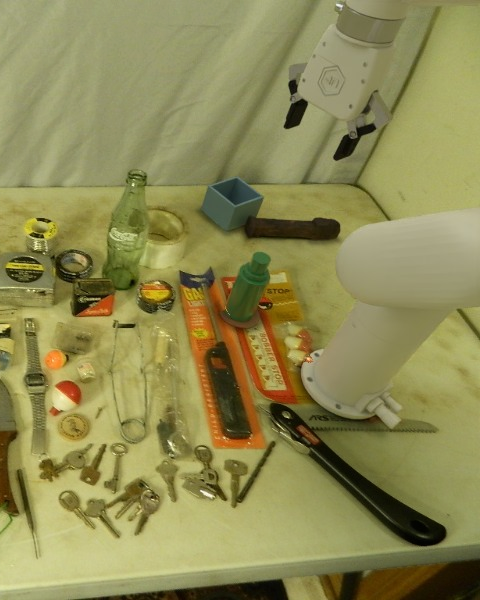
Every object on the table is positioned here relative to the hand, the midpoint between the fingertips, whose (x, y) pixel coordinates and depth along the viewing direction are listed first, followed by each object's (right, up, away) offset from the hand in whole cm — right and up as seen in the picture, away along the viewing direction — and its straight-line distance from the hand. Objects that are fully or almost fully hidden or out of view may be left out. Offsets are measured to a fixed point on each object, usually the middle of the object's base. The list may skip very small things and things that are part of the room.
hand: (314, 141), depth 81 cm
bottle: (-9, -26, +10) cm, 29 cm away
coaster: (-9, -27, +10) cm, 30 cm away
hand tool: (+7, -11, +27) cm, 30 cm away
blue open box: (-5, -7, +29) cm, 30 cm away
